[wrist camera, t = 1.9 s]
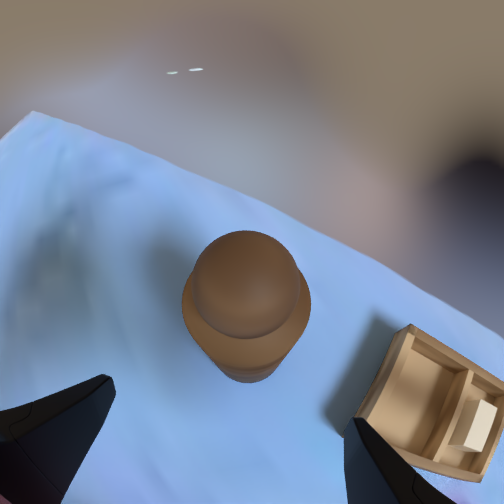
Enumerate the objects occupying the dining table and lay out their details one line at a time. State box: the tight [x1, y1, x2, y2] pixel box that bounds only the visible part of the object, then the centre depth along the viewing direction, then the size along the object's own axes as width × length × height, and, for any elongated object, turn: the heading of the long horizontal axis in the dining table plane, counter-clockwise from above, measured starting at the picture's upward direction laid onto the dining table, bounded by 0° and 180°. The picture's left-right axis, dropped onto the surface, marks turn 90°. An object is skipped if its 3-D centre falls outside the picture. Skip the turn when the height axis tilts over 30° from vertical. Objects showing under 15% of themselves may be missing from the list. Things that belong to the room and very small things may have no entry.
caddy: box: [342, 324, 504, 483], centre depth 15 cm, size 10×16×3 cm, turn 56°
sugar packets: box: [447, 399, 497, 452], centre depth 13 cm, size 4×3×2 cm
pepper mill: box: [182, 231, 311, 383], centre depth 14 cm, size 5×5×14 cm
